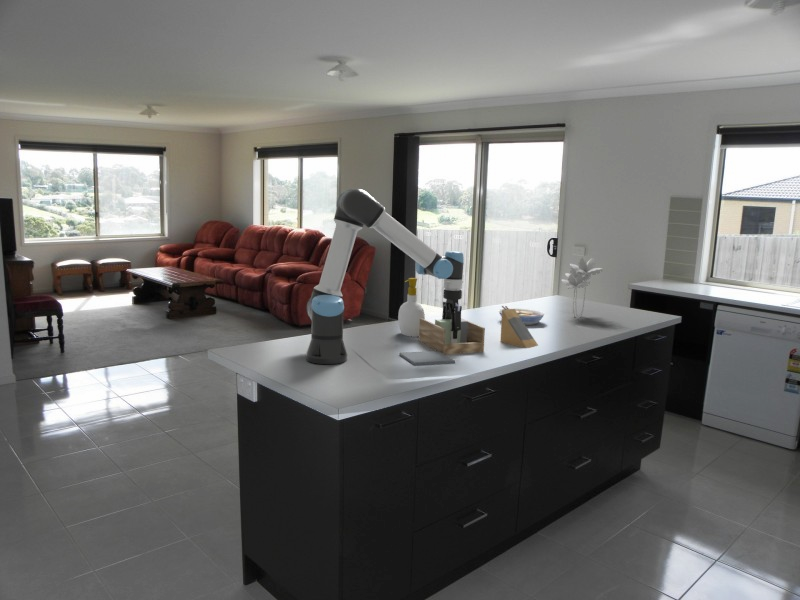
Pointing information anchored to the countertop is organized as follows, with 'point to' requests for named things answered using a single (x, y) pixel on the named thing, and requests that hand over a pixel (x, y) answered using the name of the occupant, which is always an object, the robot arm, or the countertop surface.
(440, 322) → the capped box
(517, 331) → the sandwich container
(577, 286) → the flower bouquet
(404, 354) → the slate mat
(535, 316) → the ramen bowl
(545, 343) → the countertop surface
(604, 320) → the countertop surface
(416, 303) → the soap bottle
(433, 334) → the wooden display shelf
